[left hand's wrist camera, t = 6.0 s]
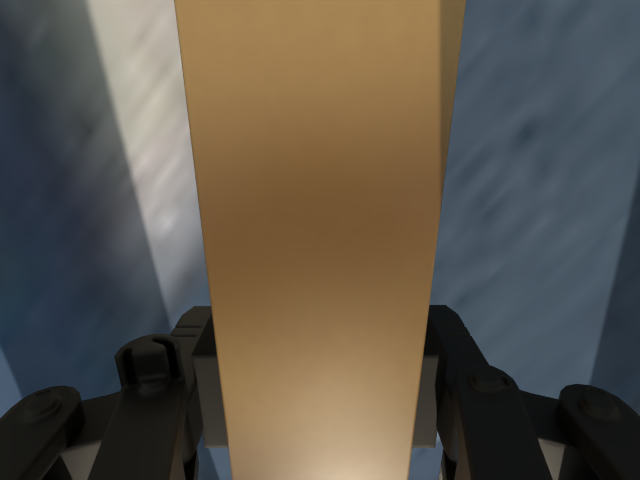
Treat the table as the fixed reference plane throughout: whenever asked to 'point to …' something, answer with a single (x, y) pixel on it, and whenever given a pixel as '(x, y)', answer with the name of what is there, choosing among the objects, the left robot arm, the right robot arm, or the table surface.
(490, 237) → the table surface
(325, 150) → the post
